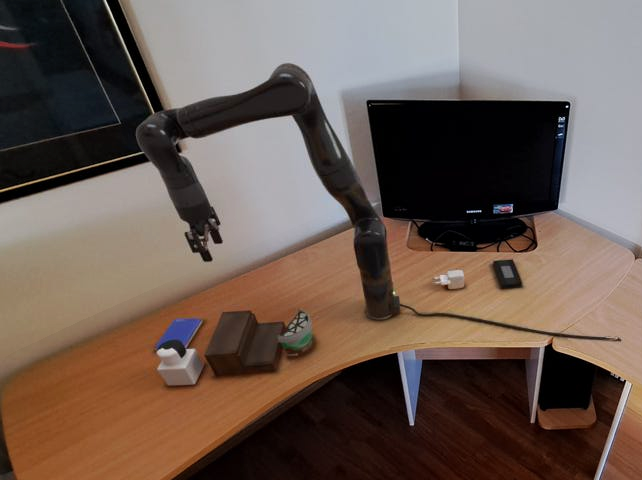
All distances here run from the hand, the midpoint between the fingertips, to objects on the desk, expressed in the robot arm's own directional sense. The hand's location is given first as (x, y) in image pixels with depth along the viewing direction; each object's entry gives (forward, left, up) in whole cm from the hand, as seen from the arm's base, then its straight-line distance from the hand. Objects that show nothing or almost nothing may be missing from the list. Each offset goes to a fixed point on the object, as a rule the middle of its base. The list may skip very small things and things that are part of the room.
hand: (213, 251), depth 122 cm
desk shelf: (-5, +13, -28) cm, 31 cm away
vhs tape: (-87, -15, -28) cm, 93 cm away
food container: (-20, +13, -28) cm, 37 cm away
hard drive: (+18, +4, -28) cm, 33 cm away
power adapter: (-65, -11, -28) cm, 72 cm away
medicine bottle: (+11, +20, -28) cm, 36 cm away
